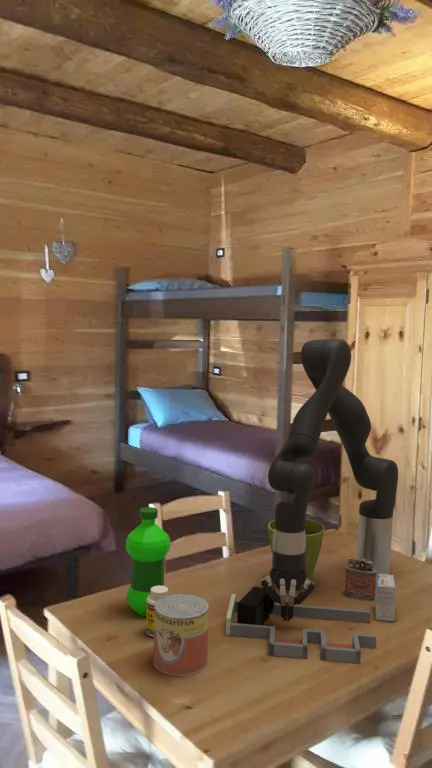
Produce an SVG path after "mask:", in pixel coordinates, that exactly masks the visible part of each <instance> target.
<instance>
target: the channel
mask: <svg viewBox="0 0 432 768" xmlns="http://www.w3.org/2000/svg"><path fill="white" fill-rule="evenodd" d="M240 600H241V599H237V593H231V595H230V600H229V603H228V604H229V605H228V608H227V612H226V617H225V636H231V637H241V638H242V637H246V638H256V639H265V640H266V639H267V640H269V643H268V656H275V657H286V658H287V657H289V658H297V659H307V658H308V643H310V644H320V658H321V661H331V662H340V663H341V662H342V663H351V664H352V663H353V664H354V663H355V664H361V653H362V651H361V648H369V649H376V648H377V634H368V633H367V634H366V633H356V632H353V633H352V637H351V638H352V642H351V644H346V643H337V642H335V643H333V642H327V636H326V635H327V634H326V631H325V630H320V629H310V628H302V630H301V639H300V640H299V639H289V638H278V637H277V638H276V626H273V625H264V624H263V625H252V624H240V623H237V622H234V618H235V613H237V612H238V602H239V601H240ZM270 615H271V616H273V615H274V616H281V605H280V604H279V603H274V608H273V611H272V613H271V614H270ZM294 617H295V618H296V617H297V618H309V619H320V620H330V621H331V620H332V621H343V622H344V621H345V622H355V623H356V622H357V623H368V624H370V622H371V610H365V609H364V610H363V609H354V608H353V609H352V608H351V609H350V608H340V607H329V606H327V607H325V606H314V605H304V604H303V605H302V604H296V605H294V607H293V618H294Z"/></svg>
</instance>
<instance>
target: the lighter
mask: <svg viewBox="0 0 432 768" xmlns="http://www.w3.org/2000/svg"><path fill="white" fill-rule="evenodd" d="M348 564H350V565H345V566H344V567H345V568H344V569H345V582H344V591H343V595H344V596H345V597H347V598H351V599H356V600H361V601H371V602H372V601H373V602H375V586H376V574H377V570H376V569H372V566H373V562H371V561H366V559H361V560H358V559H357V558H354V557H349V558H348ZM356 565H359V566H356ZM368 566H369V568H368Z"/></svg>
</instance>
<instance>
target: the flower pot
mask: <svg viewBox="0 0 432 768" xmlns="http://www.w3.org/2000/svg"><path fill="white" fill-rule="evenodd" d="M274 525H275V519H273V520H271V521H270V522H269V523H268V524H267V531H268V538H269V544H270V551H271V554H272V553H273V546H272V543H273V534H274ZM305 534H306V553H305V572H306V574H307V578H308V579H310V580H312V576H313V574H314V571H315V568H316V566H317V563H318V559H319V557H320V554H321V553H320V552H321V549H322V544H323V538H324V534H325V526H324V525H323V524H322V523H320V522H318V521H315V520H312V519H309V518H306V523H305ZM304 584H305V582H304V583H303V584H302V585H301V587H300V588H299V589H298V590H303V589H304Z"/></svg>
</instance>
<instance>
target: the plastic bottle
mask: <svg viewBox="0 0 432 768" xmlns="http://www.w3.org/2000/svg"><path fill="white" fill-rule="evenodd" d="M158 515H159V510H158V509H157V508H156V507H152V506H151V507H147V506H145V507H141V508H140V509H139V516H138V517H139V519H141V524H139V525H138V526H137V527H136V528H134V529H132V531H131V532H130V533H129V534H128V535H127V537H126V539H125V550H126V553H127V554H128V555H129V556H130V586H129V587H128V589H127V591H126V601H127V603H128V605H129V606H130V607H131V609H132V610H133V611H134V612H135V613H137V615H139V616H143V617H145V616H146V612H147V598H148V596H149V595H150V593H151V588H152V587H154V586H165V587H166V585H165V557H166V556H167V555H168V553H169V552H170V550H171V549H170V548H171V539H170V536H169V534H168V533H167V532H166V531H164V529H162V528H161V526H159V525H158V524H157V523H156V520H157V518H158V517H159V516H158Z"/></svg>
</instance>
